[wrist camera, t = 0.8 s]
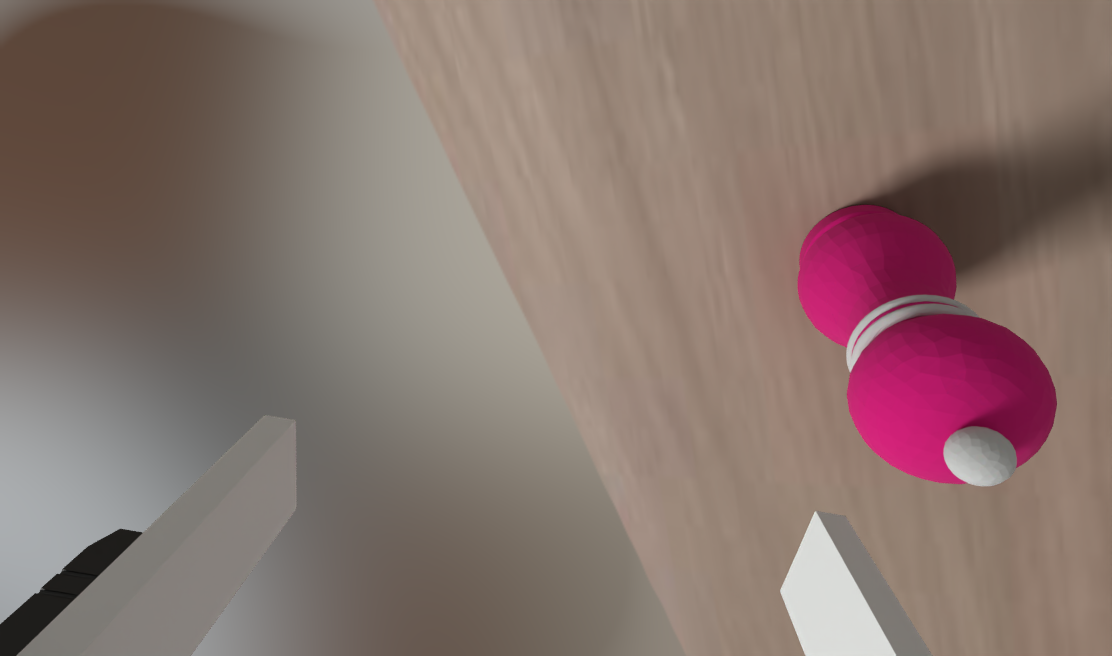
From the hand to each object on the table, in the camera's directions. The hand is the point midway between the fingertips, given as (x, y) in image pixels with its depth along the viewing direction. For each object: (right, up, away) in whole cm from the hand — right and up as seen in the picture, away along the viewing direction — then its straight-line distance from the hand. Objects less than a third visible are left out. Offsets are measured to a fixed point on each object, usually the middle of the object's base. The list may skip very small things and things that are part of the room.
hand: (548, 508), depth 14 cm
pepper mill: (+18, +9, +19) cm, 28 cm away
